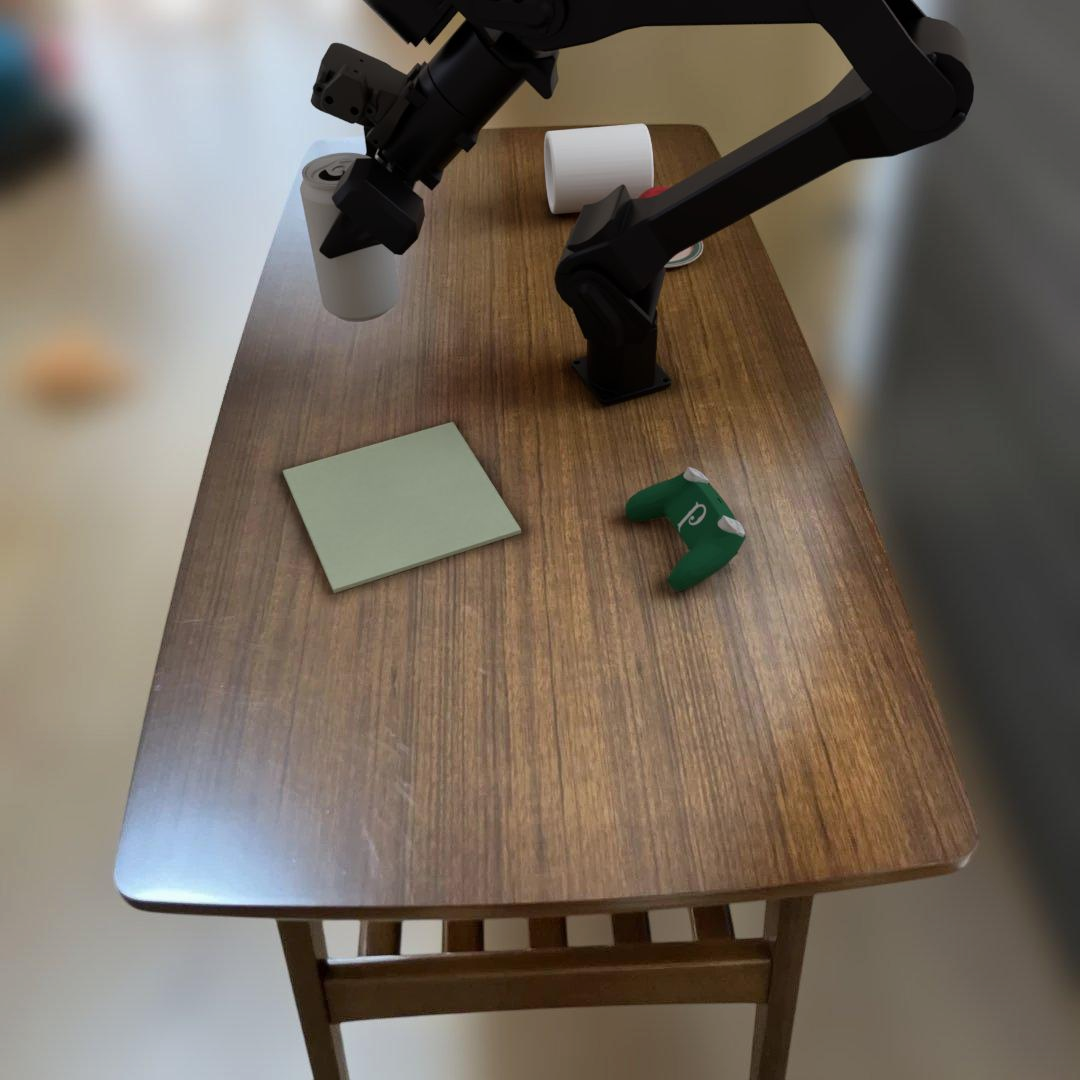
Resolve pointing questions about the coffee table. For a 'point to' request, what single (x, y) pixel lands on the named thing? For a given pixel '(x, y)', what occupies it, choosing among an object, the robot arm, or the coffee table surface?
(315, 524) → the felt mat
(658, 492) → the gaming controller
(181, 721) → the coffee table surface
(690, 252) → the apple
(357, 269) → the beverage can
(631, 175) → the mug
